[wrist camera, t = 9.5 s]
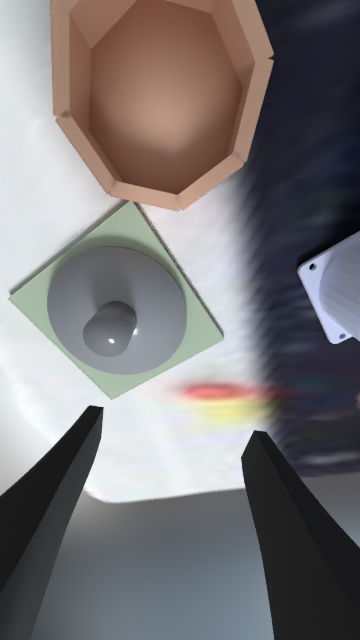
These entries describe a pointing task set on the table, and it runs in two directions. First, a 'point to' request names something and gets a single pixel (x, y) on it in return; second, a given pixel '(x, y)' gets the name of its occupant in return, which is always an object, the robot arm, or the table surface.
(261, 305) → the table surface
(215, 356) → the table surface
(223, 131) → the dish
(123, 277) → the lid
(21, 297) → the mat
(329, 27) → the table surface
